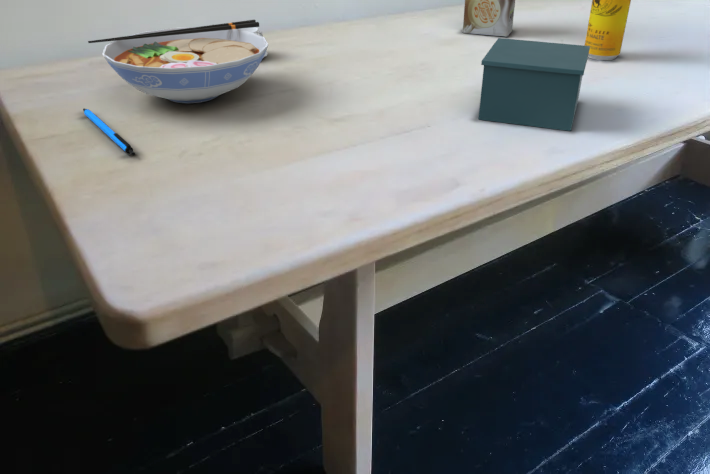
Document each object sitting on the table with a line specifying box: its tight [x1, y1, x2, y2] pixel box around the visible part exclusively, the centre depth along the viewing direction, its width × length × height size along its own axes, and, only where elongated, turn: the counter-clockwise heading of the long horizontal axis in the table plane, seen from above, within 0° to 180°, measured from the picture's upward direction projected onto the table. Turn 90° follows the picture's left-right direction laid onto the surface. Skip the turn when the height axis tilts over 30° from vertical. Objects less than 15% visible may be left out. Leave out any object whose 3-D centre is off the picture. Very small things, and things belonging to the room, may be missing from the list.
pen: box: [82, 108, 136, 156], centre depth 84 cm, size 1×19×1 cm, turn 36°
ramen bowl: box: [87, 19, 269, 105], centre depth 95 cm, size 25×23×8 cm
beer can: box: [583, 0, 632, 61], centre depth 113 cm, size 6×6×15 cm
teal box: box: [478, 37, 590, 132], centre depth 90 cm, size 13×13×8 cm
